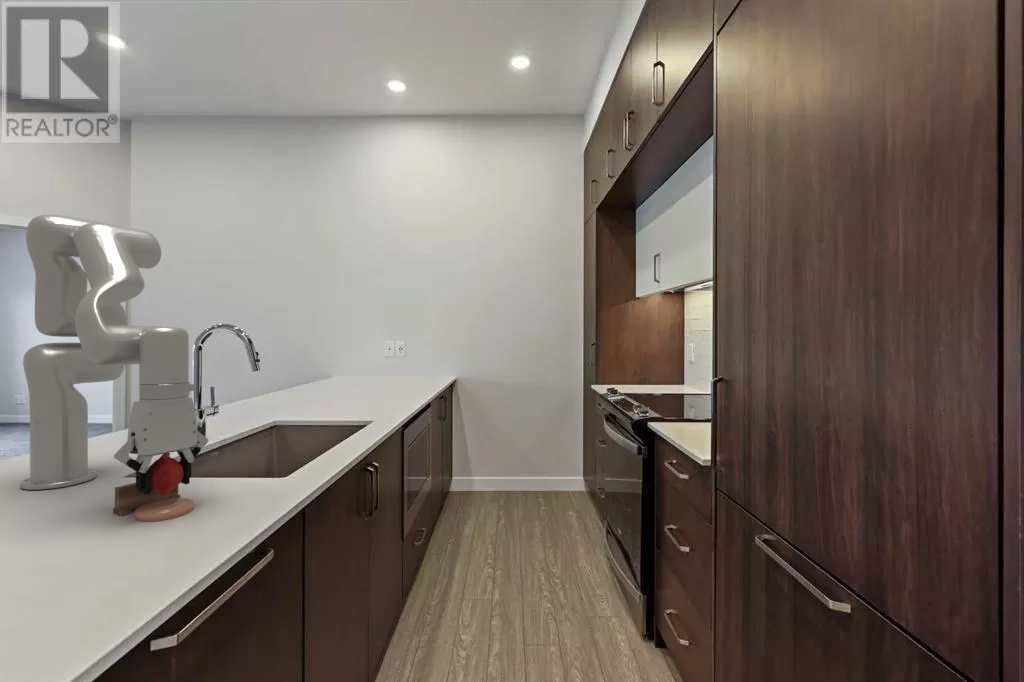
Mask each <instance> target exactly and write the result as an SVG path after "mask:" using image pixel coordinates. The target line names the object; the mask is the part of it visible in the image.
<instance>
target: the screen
mask: <svg viewBox="0 0 1024 682" xmlns="http://www.w3.org/2000/svg"><path fill="white" fill-rule="evenodd" d="M173 498H181V495H180V494H179V485H178V486H176V487H175V488H174V489H173V490H172V491H171V492H170V493H169V494H167V495H162V494H159V493H157V492H155V491H153V490H151V492H150V493H149V494H144V493H141V492H139V491H138V490H137V489H136V482H132V483H128V484H124V485H119V486H116V487H114V507H113V508H112V511H113V512H112V514H114V515H117V516H119V517H124V516H126V515H131V514H132V513H135V510H136V509H137V508H139V507H141V506H143V505H145V504H148V503H151V502H155V501H160V500H165V499H173Z"/></svg>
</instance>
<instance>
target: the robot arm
mask: <svg viewBox="0 0 1024 682" xmlns="http://www.w3.org/2000/svg"><path fill="white" fill-rule="evenodd" d="M25 242H26V247H27V251H28V254H29V257H30V260H31V263H32V265H33V269H34V272H35V273H34V275H35V280H34V281H35V283H34V284H35V285H34V324H35V328H36V330H37V331H38V332H39V333H40V334H43V335H44V336H48V337H61V338H65V337H67V338H68V337H69V338H78V340H79V342H48V343H41V344H37V345H35V346H31V347H30V348H29V349H28V350H26V352H25V353H24V356H23V361H22V362H23V363H22V365H23V372H24V375H25V378H26V383H27V389H28V398H29V399H28V400H29V466H30V467H29V468H30V469H29V471H30V473H29V476H30V477H27V478H24V479H22V480H21V481H20V483H19V488H21V489H22V490H27V491H28V490H29V491H37V490H39V491H41V490H51V489H58V488H63V487H68V486H69V487H70V486H74V485H79V484H82V482H83V483H85V482H88V481H91V480H94V479H95V478H96V477H97V476H98V472H97V471H96V470H95V469H92V468H91V469H89V467H88V466H89V459H88V458H89V457H88V456H89V455H88V453H89V451H88V450H89V445H88V443H89V437H88V436H89V435H88V434H89V433H88V432H89V431H88V430H89V429H88V428H89V424H88V422H89V421H88V418H89V417H88V411H89V410H88V402H87V401H88V400H87V399H86V397H85V396H84V395H83V394H82V393H81V392H80V391H78V389H77V388H76V387H75V385H80V384H87V383H88V384H90V383H102V382H103V383H104V382H112V381H115V380H117V379H118V378H120V377H121V376H122V374H123V373H124V371H125V367H126V366H130V365H131V366H132V365H133V366H134V365H139V366H138V367H139V368H138V369H139V370H138V373H139V374H138V375H139V378H138V381H139V384H138V385H139V387H138V390H139V394H138V397H139V399H138V400H136V401H133V403H132V408H131V411H130V415H129V420H128V431H127V441H126V442H125V443H124V444H123V445H122V446H121V447H120V448H119V449H118V450H117V451H116V452H115V454H114V455H113V458H114V459H116V460H117V461H119V462H120V463H122V464H124V465H125V466H127V467H129V468H130V469H132V470H133V471H134V472H135V483H136V489H137V490H138V491H139V492H141V493H144V494H149V493H150V492H151V472H149V471H148V469H149V467H150V466H151V462H152V460H153V457H154V456H158V455H159V456H160V455H163V454H165V453H175V452H176V453H177V455H178V457H179V459H180V461H178V462H179V463H180V464H181V466H182V468H183V472H184V474H183V479H182V481H181V482H180V484H182V485H189V484H190V478H192V463H193V462H194V461H195V459H196V457H197V456H198V455H199V454H200V452H201V451H202V449H203V448H204V447H205V446H206V445H207V444H208V443H209V438H207V437H206V436H205V435H203V434H202V433H201V432H200V431H199V430H198V420H197V415H196V414H197V413H196V408H195V405H194V401H193V398H192V397H190V396H189V395H190V394H191V392H193V391H194V392H195V391H196V385H195V383H190V381H189V377H190V376H189V374H190V373H189V371H190V370H189V369H190V367H189V366H190V364H189V363H190V361H189V359H190V357H189V353H190V352H189V348H190V347H189V345H190V344H189V342H190V341H189V339H190V338H189V337H190V336H189V333H188V331H187V330H186V329H184V328H182V327H176V326H175V327H169V326H165V327H164V326H152V325H149V326H148V325H127V315H126V311H125V309H124V308H125V307H124V306H123V305H122V303H124V302H127V301H130V300H132V299H135V298H136V297H138V296H139V295H140V294H141V293H142V292H143V291H144V288H145V281H144V278H143V276H142V274H141V272H140V269H147V270H148V269H153V268H155V267H156V266H158V264H159V263H160V260H161V258H162V248H161V245H160V242H159V241H158V239H157V237H155V235H153V234H152V233H151V232H149V231H146V230H143V229H139V228H138V229H137V228H132V227H127V226H122V225H116V224H110V223H105V222H99V221H96V220H95V221H93V220H89V219H84V218H78V217H73V216H66V215H60V214H59V215H58V214H42V215H37V216H35V217H33V218H32V219H31V220H30V221H29V222H28V224H27V228H26V233H25ZM75 258H79V260H80V262H81V265H82V266H81V265H80V264H79V262H77V260H76V259H75ZM88 283H89V286H90V288H91V289H90V290H88ZM130 454H132V455H137V456H136V458H135V459H134V458H133V457H131V456H130Z"/></svg>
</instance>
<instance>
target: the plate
mask: <svg viewBox="0 0 1024 682" xmlns="http://www.w3.org/2000/svg"><path fill="white" fill-rule="evenodd" d="M194 509H195V501H194V499H192V498H187V497H180V498H173V499H165V500H160V501H155V502H151V503H148V504H145V505H143V506H141V507H139V508H137V509H136V510H135V511H134V519H135V521H137V522H141V523H142V522H143V523H145V522H146V523H149V522H161V521H162V522H163V521H166V520H172V519H176V518H179V517H182V516H184V515H187V514H189V513H191V512H192V511H193V510H194Z"/></svg>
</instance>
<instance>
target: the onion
mask: <svg viewBox="0 0 1024 682" xmlns="http://www.w3.org/2000/svg"><path fill="white" fill-rule="evenodd" d="M170 453H171V452H170ZM170 453H165V454H161V456H160V457H158V459H156V460H155V461H154V462H152V463H151V464H150V465H149V467H148V471H149V472H151V490H153V491H155V492H157V493H159V494H162V495H167V494H169V493H170V492H171V491H172V490H173V489H174V488H175V487H176V486H178V487H179V485H180V484H181V483H180V482H181V481H182V479H183V474H184V472H183V468H182V466H181V464H180V463H179V461H178V460H177V459H175V458H173V457H171V454H170Z"/></svg>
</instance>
